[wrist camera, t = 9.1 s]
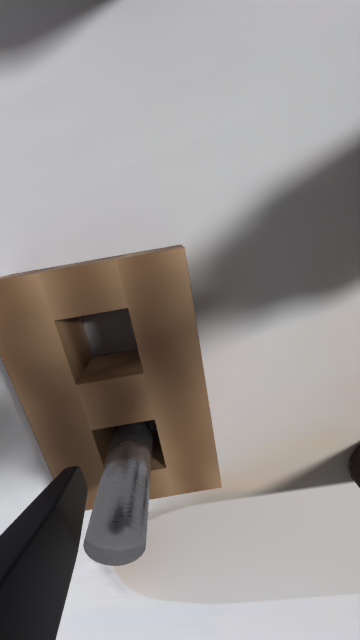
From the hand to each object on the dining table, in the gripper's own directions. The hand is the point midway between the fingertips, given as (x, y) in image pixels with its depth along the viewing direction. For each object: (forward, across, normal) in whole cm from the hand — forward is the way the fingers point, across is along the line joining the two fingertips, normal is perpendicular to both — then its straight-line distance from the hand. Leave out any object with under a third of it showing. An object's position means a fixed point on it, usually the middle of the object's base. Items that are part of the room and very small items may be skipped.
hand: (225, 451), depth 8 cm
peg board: (+12, +6, +3) cm, 14 cm away
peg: (+12, +6, +7) cm, 16 cm away
